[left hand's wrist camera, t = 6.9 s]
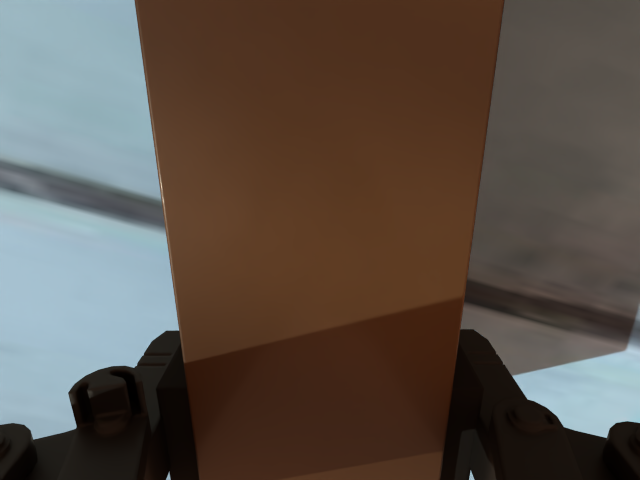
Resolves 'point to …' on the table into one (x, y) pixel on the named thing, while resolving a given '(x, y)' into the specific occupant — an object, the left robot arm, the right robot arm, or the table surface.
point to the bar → (319, 223)
